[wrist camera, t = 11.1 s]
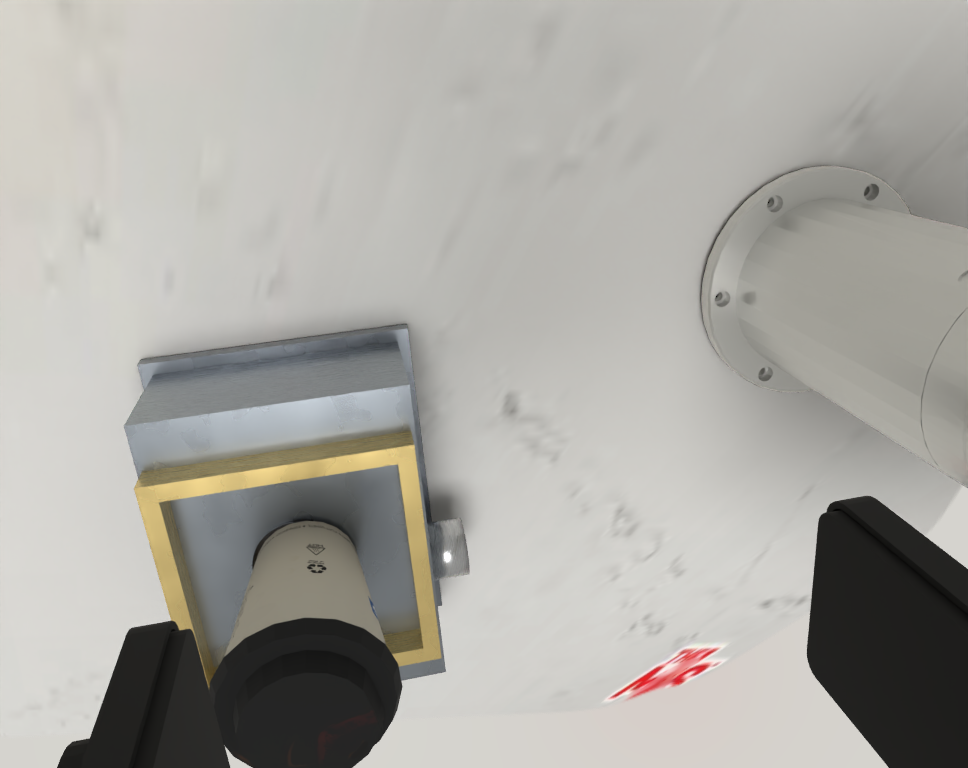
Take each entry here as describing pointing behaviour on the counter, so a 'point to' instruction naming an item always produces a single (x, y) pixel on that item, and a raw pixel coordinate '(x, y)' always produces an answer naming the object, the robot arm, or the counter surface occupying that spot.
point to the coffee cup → (306, 658)
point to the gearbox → (291, 479)
